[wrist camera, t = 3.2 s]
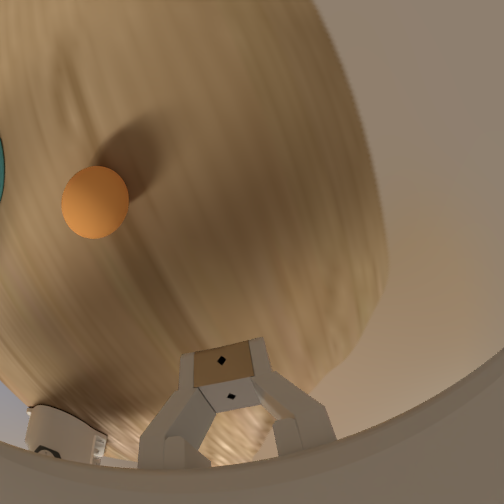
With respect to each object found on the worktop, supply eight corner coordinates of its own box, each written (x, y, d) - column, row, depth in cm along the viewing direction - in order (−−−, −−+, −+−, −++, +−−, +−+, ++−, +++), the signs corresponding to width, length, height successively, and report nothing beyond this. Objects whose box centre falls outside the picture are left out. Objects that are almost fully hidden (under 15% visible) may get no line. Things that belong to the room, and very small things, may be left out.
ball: (131, 228, 22) (113, 258, 18) (77, 216, 21) (49, 243, 16) (141, 166, 20) (121, 181, 15) (83, 156, 19) (51, 169, 14)
